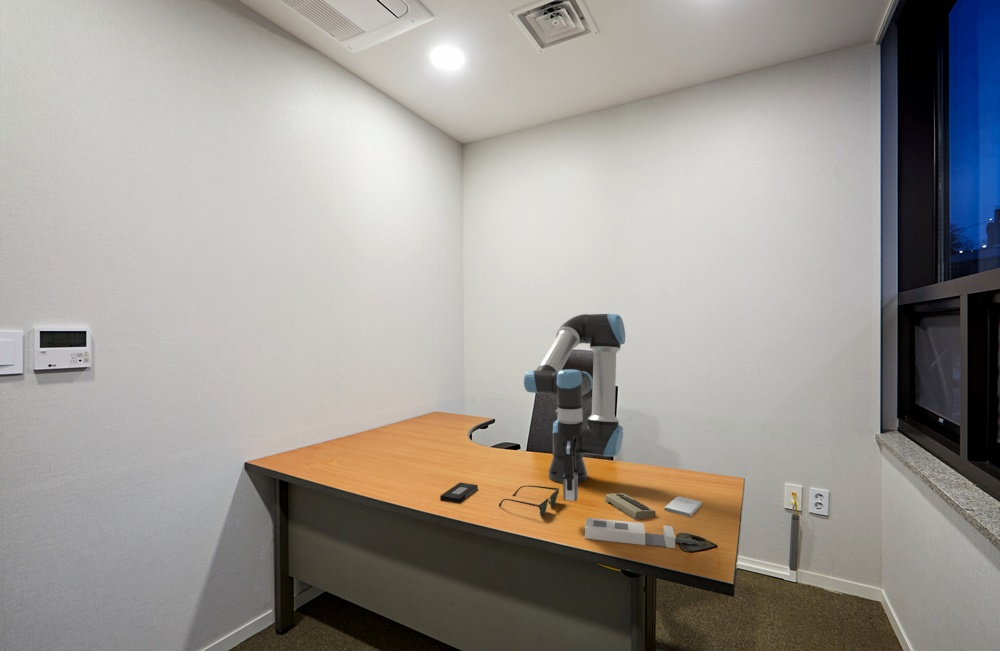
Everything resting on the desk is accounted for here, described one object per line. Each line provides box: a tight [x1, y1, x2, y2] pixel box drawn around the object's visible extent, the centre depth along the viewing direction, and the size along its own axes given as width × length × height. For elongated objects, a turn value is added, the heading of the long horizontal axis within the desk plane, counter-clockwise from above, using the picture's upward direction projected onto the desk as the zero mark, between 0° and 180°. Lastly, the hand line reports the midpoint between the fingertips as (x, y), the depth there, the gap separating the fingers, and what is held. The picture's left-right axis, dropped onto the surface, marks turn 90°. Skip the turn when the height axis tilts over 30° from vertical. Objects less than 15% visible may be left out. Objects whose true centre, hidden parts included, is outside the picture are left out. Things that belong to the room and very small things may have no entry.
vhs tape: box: [439, 482, 479, 504], centre depth 163 cm, size 8×14×2 cm, turn 157°
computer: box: [604, 492, 657, 521], centre depth 150 cm, size 16×8×3 cm, turn 23°
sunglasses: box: [498, 485, 560, 517], centre depth 153 cm, size 16×17×5 cm
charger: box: [562, 473, 579, 502], centre depth 140 cm, size 4×4×7 cm
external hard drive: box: [663, 495, 703, 518], centre depth 151 cm, size 2×8×12 cm
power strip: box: [584, 517, 698, 549], centre depth 129 cm, size 7×30×3 cm, turn 76°
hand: (570, 496), depth 140 cm, fingers closed on charger, 4 cm apart
